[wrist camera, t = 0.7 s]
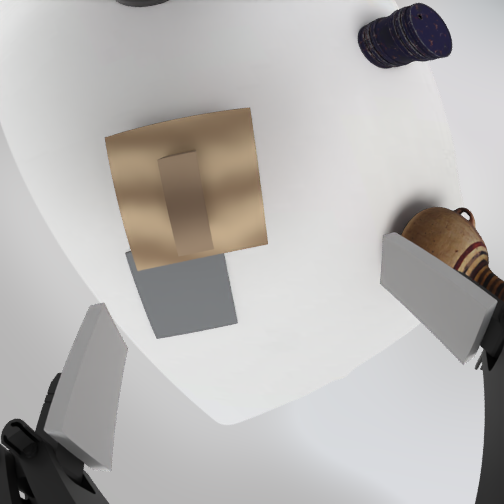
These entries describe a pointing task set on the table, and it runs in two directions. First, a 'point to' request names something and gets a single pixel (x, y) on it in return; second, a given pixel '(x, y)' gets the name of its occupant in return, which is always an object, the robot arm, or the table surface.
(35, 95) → the table surface
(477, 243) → the vase
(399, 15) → the dark blue cylinder
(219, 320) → the mat
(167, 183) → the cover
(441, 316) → the robot arm
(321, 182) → the table surface
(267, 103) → the table surface
